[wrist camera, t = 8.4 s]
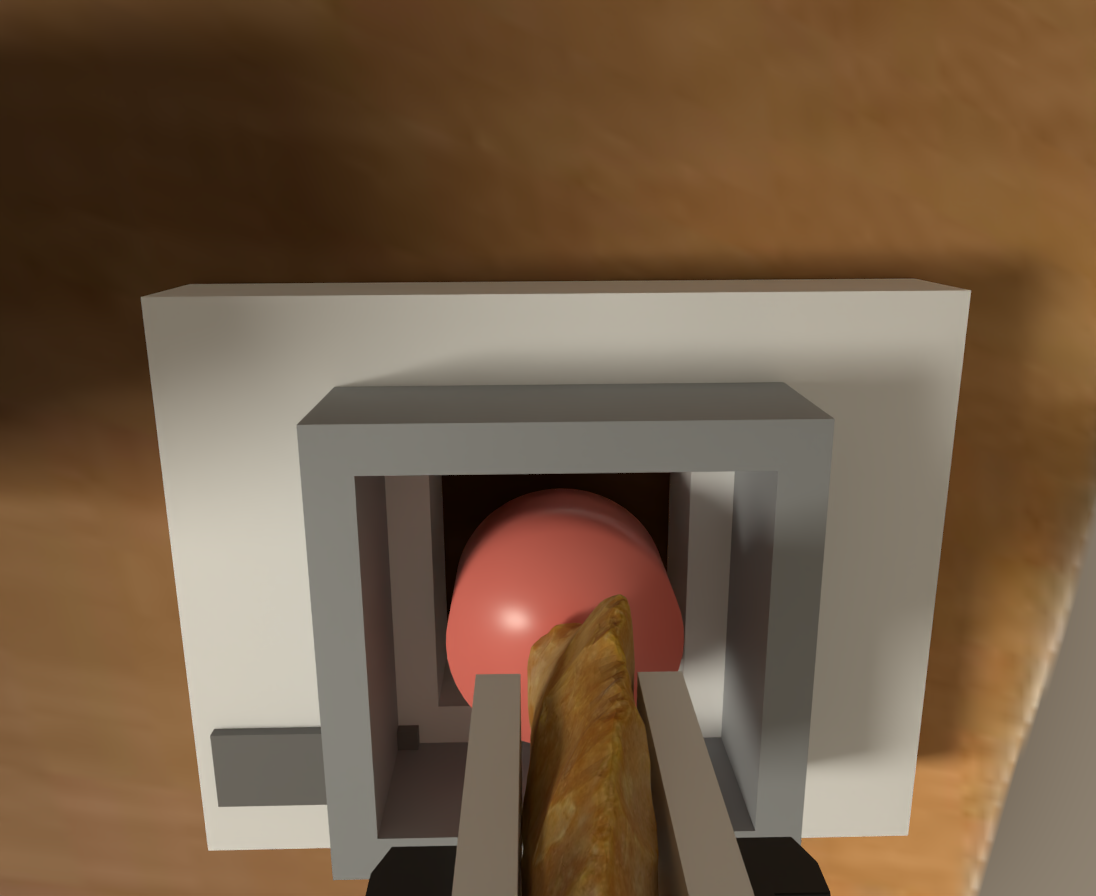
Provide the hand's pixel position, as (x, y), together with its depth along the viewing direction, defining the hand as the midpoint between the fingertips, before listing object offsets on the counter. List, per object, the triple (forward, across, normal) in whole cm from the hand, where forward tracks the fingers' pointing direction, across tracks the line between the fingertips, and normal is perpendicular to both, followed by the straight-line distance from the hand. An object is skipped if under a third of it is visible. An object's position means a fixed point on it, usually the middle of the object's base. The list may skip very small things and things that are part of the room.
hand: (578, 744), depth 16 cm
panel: (+9, 0, 0) cm, 9 cm away
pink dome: (+6, 0, 0) cm, 6 cm away
